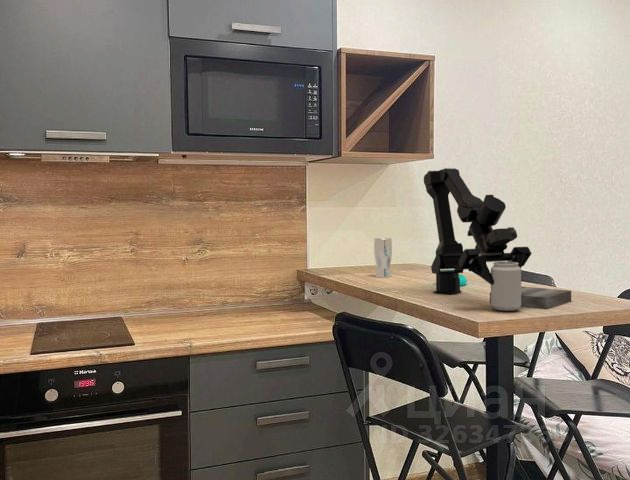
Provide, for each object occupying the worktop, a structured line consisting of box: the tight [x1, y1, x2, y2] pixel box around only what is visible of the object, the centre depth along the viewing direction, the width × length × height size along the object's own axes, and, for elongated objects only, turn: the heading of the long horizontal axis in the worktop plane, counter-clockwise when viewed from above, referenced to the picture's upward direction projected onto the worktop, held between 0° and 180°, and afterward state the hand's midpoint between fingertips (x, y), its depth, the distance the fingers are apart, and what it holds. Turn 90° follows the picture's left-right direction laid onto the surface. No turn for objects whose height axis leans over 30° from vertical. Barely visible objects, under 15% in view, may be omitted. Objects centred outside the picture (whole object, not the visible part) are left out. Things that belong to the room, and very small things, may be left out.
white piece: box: [373, 237, 393, 279], centre depth 232 cm, size 7×7×15 cm
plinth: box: [489, 286, 572, 310], centre depth 165 cm, size 16×16×3 cm
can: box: [490, 261, 522, 311], centre depth 153 cm, size 8×8×12 cm
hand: (506, 283), depth 152 cm, fingers closed on can, 7 cm apart
